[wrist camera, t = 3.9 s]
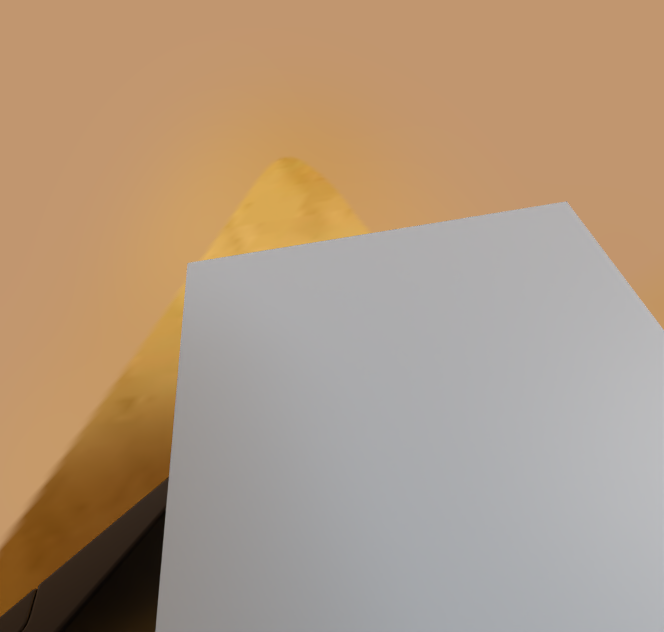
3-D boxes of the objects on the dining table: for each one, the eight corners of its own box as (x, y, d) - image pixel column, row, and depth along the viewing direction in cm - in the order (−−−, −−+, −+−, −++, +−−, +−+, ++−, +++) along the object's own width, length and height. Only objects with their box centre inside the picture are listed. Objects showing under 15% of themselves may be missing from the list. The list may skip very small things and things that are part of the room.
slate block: (447, 542, 13) (1036, 826, 2) (326, 564, 13) (123, 1012, 2) (413, 417, 16) (566, 201, 4) (311, 435, 15) (187, 262, 4)
